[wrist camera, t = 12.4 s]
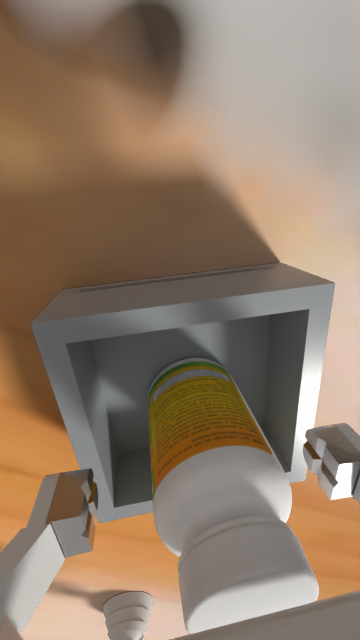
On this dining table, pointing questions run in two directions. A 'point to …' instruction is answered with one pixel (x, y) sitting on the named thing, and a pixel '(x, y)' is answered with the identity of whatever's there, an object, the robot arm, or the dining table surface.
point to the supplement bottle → (221, 500)
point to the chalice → (128, 615)
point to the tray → (178, 344)
